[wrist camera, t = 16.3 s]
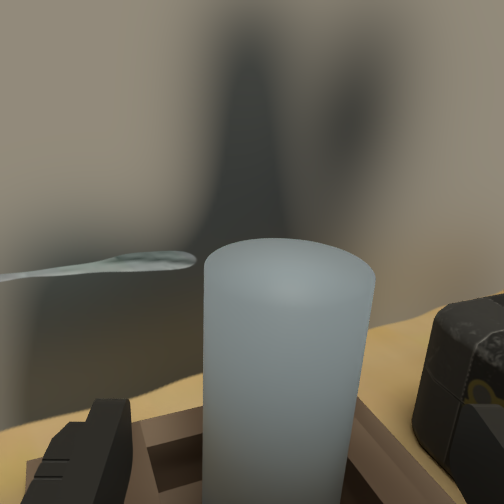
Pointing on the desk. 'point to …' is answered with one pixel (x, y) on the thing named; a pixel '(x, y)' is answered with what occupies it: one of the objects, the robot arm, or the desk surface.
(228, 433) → the cylinder
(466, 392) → the cash box
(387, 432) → the holder
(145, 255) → the desk surface
